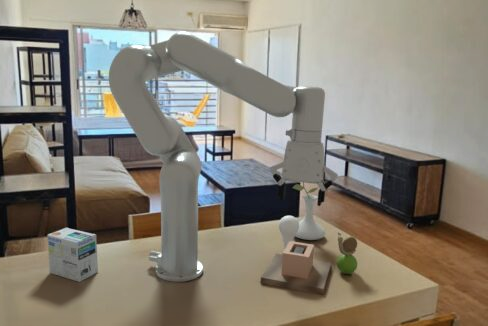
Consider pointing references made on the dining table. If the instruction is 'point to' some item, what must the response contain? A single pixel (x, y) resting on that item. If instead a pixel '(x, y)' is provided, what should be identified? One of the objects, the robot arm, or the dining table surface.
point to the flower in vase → (309, 218)
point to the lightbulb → (288, 229)
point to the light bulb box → (72, 254)
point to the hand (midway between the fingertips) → (300, 201)
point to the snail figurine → (347, 255)
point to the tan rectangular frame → (297, 260)
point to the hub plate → (311, 284)
